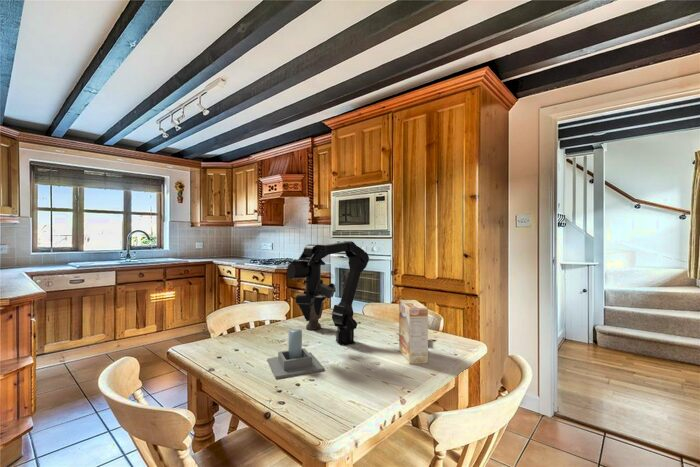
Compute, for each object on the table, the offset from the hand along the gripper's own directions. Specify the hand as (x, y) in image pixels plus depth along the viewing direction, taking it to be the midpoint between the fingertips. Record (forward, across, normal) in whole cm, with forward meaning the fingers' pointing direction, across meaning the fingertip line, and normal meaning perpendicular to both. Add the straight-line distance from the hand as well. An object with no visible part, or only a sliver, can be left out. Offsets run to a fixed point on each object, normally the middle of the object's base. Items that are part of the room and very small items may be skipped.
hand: (312, 318), depth 123 cm
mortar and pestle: (+13, +30, +11) cm, 35 cm away
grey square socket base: (+13, -14, 0) cm, 19 cm away
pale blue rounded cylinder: (+12, -14, 0) cm, 18 cm away
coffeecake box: (+13, +8, -37) cm, 40 cm away
